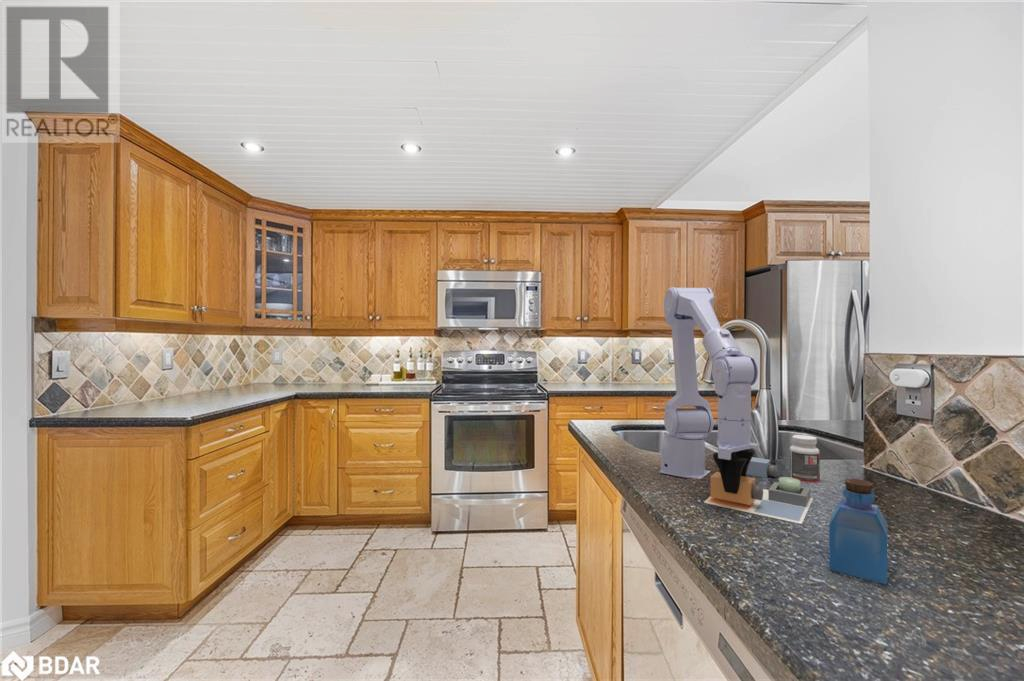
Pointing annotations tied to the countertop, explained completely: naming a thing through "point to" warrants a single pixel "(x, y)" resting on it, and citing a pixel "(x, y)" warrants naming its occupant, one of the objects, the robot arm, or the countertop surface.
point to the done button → (789, 484)
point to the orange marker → (745, 491)
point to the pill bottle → (805, 459)
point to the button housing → (789, 496)
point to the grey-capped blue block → (761, 468)
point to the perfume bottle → (858, 534)
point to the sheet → (766, 508)
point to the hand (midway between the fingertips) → (734, 489)
